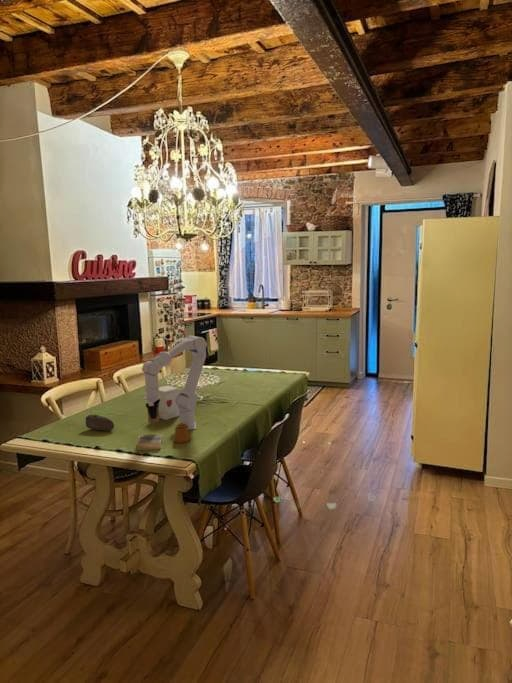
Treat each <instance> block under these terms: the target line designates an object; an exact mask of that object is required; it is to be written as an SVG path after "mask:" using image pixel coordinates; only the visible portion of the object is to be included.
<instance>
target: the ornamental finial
mask: <svg viewBox="0 0 512 683" xmlns="http://www.w3.org/2000/svg"><path fill="white" fill-rule="evenodd" d="M189 431H190V430H188V425H186V424H185V423H183V422H181V423H178V424H176V425H175V427H174V436H173V441H174V442H175V443H177V444H183V443H184V444H185V443H189V441H190V440H191V437H192V436H191V435H190V432H189Z"/></svg>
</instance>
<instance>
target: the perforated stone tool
mask: <svg viewBox="0 0 512 683" xmlns="http://www.w3.org/2000/svg"><path fill="white" fill-rule="evenodd" d="M85 426H86V428H88V429H90V430H94V431H100V430H101V431H103V432H109V431H113V430H114V428H115V424H114V421H112V420H111V419H110V418H107V417H106V416H103V415H98V414H88V415H87V416H86V417H85ZM101 431H100V432H101Z"/></svg>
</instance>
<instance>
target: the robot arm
mask: <svg viewBox="0 0 512 683" xmlns="http://www.w3.org/2000/svg"><path fill="white" fill-rule="evenodd" d="M207 346H208V342H207V341H206V339H205V338H204V337H202V336H195V335H192V334H189V335H187V336H185V337H184V338H182V340H181V341H180V342H179V343H177V344H175V346H173V347H172V348H171V349H169V350H168V351H160V352H159V354H158V355H156V356H155V357H152V358H151V359H150V360H147V361H145V362H144V363H143V365H142V367H141V370H142V372H143V373H144V381H145V395H146V396H144V397H143V400H146V403H145V407H146V408H147V412H148V411H149V414H150V417H151V419H156V414H157V407H158V405H159V402H160V396H159V388H160V386H159V384H160V383H159V373H160V371H161V369H163V368H164V367H166V366H167V365H169V363H171V362H172V359H173V358H174V357H176V356H177V355H179V354H181V353H183V352H184V351H186V350H189V351H190V352H191V354H192V356H193V359H192V361H191V366H190V368H189V372H188V375H187V378H186V381H185V385H184V387H183V388H182V389H181V390H180V391H179V392H178V396H177V397H176V405H177V406H178V409H179V416H178V417H179V418H178V420H179V423H181V422H183V423H185V424H186V425H188V431H190V430H196V427H197V422H196V421H195V410H196V409H195V408H197V404H198V403H197V400H198V395H197V393H196V389H197V386H198V383H199V380H200V377H201V374H202V370H203V366H204V364H205V362H206V358H207Z"/></svg>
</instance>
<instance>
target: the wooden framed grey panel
mask: <svg viewBox="0 0 512 683" xmlns="http://www.w3.org/2000/svg"><path fill="white" fill-rule="evenodd" d="M163 441H164V435H163V433H158V434H141V435H139V437H138V439H137V441H136V444H135V445H136V451H151V450H161V449H162V446H163Z"/></svg>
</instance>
